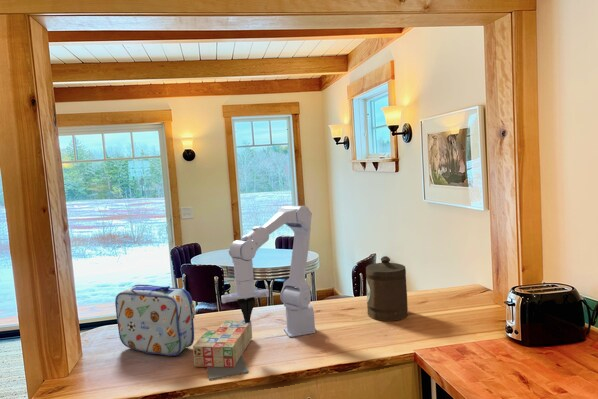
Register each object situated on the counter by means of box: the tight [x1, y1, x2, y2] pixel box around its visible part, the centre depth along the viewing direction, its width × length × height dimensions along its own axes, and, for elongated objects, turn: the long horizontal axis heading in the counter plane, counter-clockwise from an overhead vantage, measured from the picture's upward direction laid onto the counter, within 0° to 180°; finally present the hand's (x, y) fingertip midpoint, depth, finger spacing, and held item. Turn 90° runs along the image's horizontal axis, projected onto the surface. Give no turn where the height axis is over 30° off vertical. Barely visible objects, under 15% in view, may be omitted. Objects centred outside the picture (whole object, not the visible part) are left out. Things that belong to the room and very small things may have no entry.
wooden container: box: [365, 255, 409, 322], centre depth 165 cm, size 15×15×22 cm
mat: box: [206, 355, 250, 381], centre depth 135 cm, size 11×24×1 cm, turn 17°
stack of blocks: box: [192, 319, 253, 368], centre depth 139 cm, size 21×6×12 cm
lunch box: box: [114, 284, 197, 357], centre depth 144 cm, size 28×10×22 cm, turn 68°
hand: (247, 322), depth 137 cm, fingers closed
